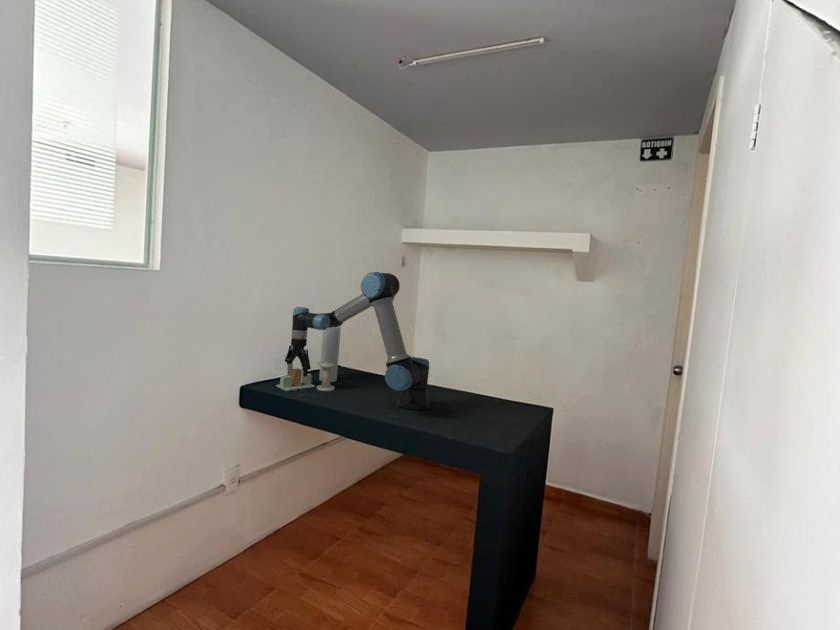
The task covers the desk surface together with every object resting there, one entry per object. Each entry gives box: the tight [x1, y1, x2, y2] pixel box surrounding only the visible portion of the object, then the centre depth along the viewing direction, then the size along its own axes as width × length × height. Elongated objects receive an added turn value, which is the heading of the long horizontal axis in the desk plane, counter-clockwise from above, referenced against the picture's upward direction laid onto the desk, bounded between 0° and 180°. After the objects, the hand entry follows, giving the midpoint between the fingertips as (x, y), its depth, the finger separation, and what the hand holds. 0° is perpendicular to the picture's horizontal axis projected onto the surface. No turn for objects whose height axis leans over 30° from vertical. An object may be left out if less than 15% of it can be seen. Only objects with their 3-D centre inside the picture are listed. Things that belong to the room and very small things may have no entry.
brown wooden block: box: [291, 368, 302, 386], centre depth 225 cm, size 4×4×8 cm
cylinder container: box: [319, 326, 342, 383], centre depth 245 cm, size 9×9×30 cm
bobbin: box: [316, 361, 336, 392], centre depth 227 cm, size 9×9×13 cm
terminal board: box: [276, 372, 316, 392], centre depth 226 cm, size 10×16×6 cm, turn 137°
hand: (296, 379), depth 226 cm, fingers open, 13 cm apart
